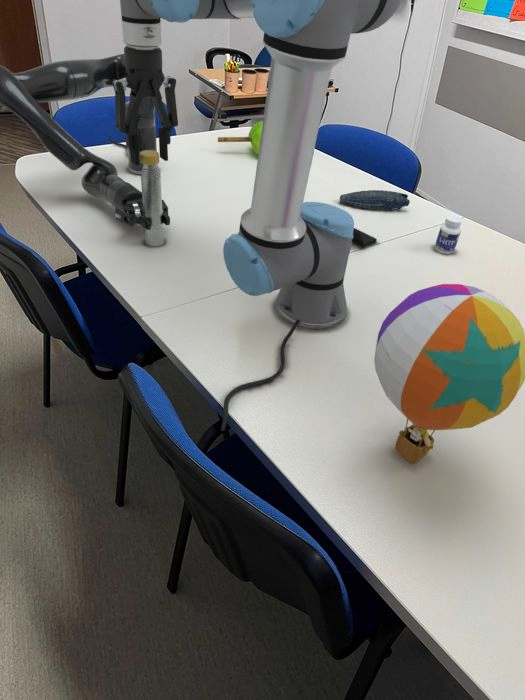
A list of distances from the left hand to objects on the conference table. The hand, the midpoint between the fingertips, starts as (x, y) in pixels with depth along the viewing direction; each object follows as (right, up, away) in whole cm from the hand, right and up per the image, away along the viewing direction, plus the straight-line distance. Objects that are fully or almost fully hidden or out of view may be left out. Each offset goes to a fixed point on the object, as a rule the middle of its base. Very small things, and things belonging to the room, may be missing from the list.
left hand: (158, 223), depth 126 cm
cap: (0, +14, -8) cm, 16 cm away
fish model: (+59, +14, +34) cm, 70 cm away
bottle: (-2, -3, +5) cm, 7 cm away
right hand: (-1, +13, -8) cm, 15 cm away
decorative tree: (+24, +41, +64) cm, 80 cm away
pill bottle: (+74, -4, +14) cm, 76 cm away
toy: (+49, -47, -44) cm, 81 cm away
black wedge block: (+49, -1, +15) cm, 51 cm away
